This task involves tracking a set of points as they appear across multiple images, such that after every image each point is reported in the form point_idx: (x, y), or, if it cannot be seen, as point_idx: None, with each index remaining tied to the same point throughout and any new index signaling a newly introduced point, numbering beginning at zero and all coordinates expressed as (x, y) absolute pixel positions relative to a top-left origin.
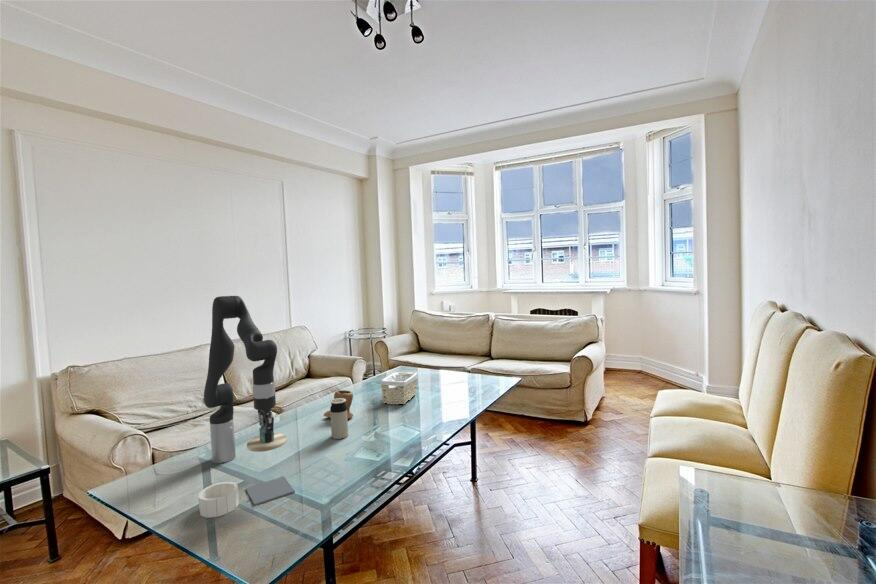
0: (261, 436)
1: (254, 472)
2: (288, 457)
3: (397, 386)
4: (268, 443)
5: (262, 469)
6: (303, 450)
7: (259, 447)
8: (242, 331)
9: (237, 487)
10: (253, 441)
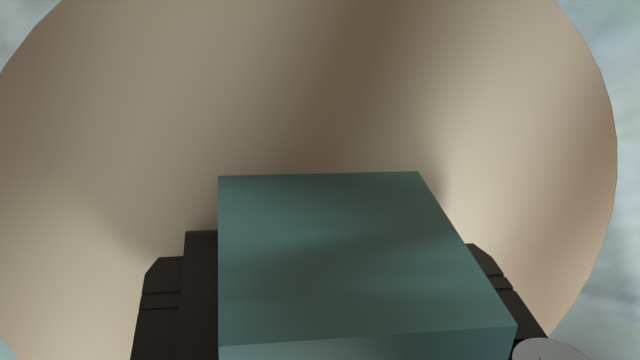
0: (300, 240)
1: (614, 12)
2: (615, 237)
3: None
4: (160, 251)
5: (607, 69)
6: (619, 319)
7: (48, 88)
8: None
9: None
10: (457, 65)
